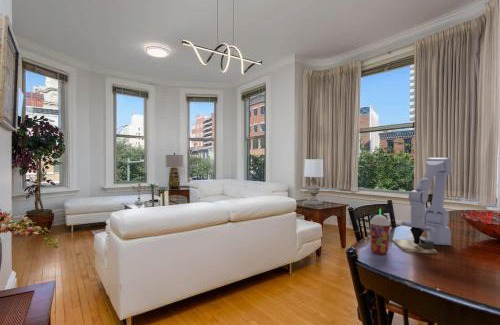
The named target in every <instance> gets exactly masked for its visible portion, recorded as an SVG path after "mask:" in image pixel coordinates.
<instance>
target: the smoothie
mask: <svg viewBox="0 0 500 325" xmlns="http://www.w3.org/2000/svg"><path fill="white" fill-rule="evenodd" d="M378 214H379V215H376V216H374V217H373V218H372V219H371V221H369V235H370V249H371V252H372V253H373V254H375V255H378V256H385V255H387V253H388V251H389V242H390V230H391V223H390V221H389V218H388V217H387V218H388V219H387V218H386V217H385V216H383V215H381V214H382V208H379V213H378Z"/></svg>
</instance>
